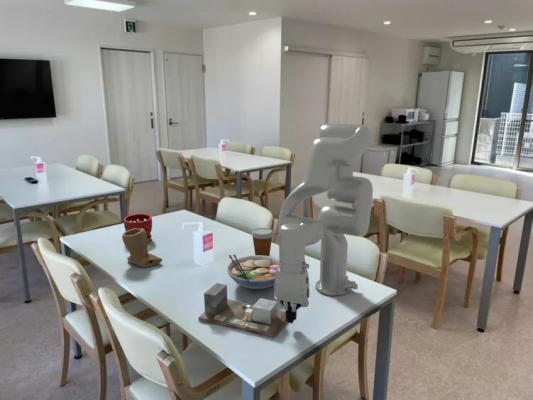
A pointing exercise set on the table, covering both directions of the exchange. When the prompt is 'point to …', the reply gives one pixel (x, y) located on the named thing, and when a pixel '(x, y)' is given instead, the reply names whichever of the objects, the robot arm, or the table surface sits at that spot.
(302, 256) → the robot arm
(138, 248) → the brown boot-shaped piece
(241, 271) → the ramen bowl
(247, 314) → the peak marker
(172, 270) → the table surface
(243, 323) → the bench
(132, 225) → the plant pot
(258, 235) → the disposable coffee cup
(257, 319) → the gauge plunger
